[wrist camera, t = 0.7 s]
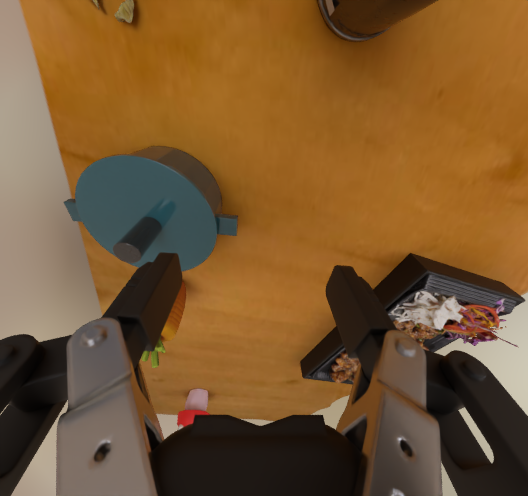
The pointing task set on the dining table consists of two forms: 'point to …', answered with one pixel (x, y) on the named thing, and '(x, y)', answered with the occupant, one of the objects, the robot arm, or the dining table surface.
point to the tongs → (123, 11)
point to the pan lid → (145, 210)
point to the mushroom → (193, 407)
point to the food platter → (423, 313)
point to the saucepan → (195, 174)
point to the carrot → (169, 327)
